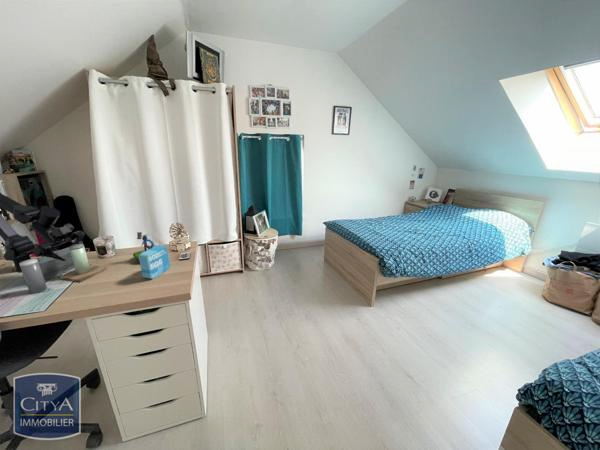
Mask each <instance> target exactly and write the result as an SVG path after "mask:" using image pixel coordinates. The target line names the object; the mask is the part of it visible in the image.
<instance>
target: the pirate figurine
mask: <svg viewBox="0 0 600 450" xmlns="http://www.w3.org/2000/svg"><path fill="white" fill-rule="evenodd" d="M136 233H137V238H136V239H137V240H142V243H141V245H139V248H142V247H143V249H142V250H139V251H136V252H133V254H132V256H133V258H134V259H136V260H139V255H140V254H141V253H143V252H145V251H147V250H149V249H151V248H153V247H155V243H154V242H153V240H152V239H150V238H149V239H148V234H143V232H142V231H139V232H136ZM148 242H149V243H150V244H151V245H150V244H148Z"/></svg>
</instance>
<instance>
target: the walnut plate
mask: <svg viewBox="0 0 600 450" xmlns="http://www.w3.org/2000/svg"><path fill="white" fill-rule="evenodd" d="M89 266H90V272H88V273H85V274H76V270H75V269H74V270H73V269H72V271H71V270H70V271H67V272H65V273H63V274H61V275H58V276H59V279H60V280H66V281H71V282H77V283H83V282H84V281H86V280H88V279H90V278H92V277H94V276H97V275H98V274H100V273H103V272H105V271H106V270H108V268H107V267H106V266H99V265H93V264H89Z"/></svg>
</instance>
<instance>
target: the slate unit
mask: <svg viewBox="0 0 600 450" xmlns="http://www.w3.org/2000/svg"><path fill="white" fill-rule="evenodd" d="M56 251H57V252H59V253H60V254H61V255H62V256H63V257H64V258H65V259H66V260H65V261H62V260H58V259H54V258H50V257H45V256H44V257H42V256H39V257H37V258H35V259H37V260H38V263H39V266H40V268H41V271H42V274H43V277H44V280H45V282H46V281H49V280H50V279H52V278H56V277H57V276H61V275H63V274H65V273H68V272H70V271H71V270H73V269H74V270H75V267H74V263H73V260H72V257H71V253H70V250H69V247H66V248H63V249H60V250H56Z"/></svg>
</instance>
